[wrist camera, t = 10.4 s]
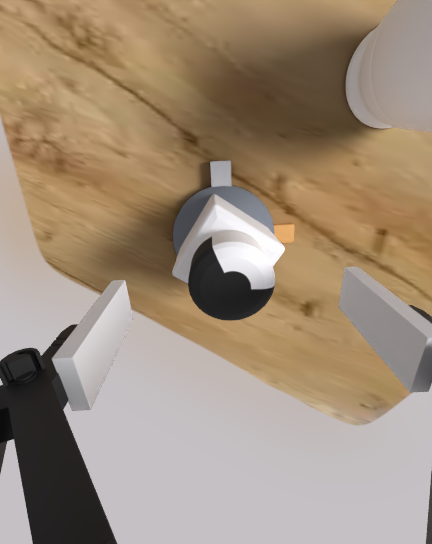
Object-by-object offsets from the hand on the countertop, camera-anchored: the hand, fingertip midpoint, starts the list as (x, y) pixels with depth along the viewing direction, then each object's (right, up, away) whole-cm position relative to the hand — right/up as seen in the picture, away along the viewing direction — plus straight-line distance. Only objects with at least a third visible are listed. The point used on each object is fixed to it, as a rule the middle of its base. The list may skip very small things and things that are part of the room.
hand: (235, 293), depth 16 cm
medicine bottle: (0, +5, +13) cm, 14 cm away
